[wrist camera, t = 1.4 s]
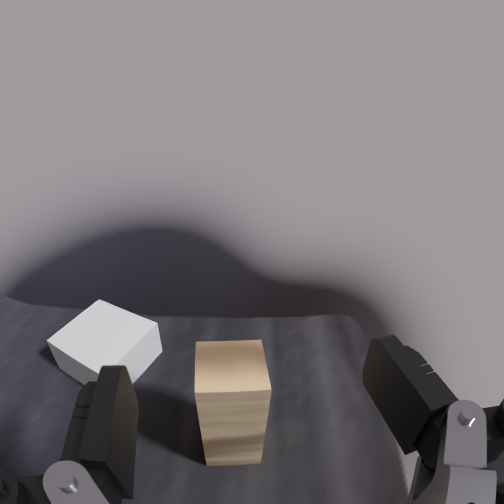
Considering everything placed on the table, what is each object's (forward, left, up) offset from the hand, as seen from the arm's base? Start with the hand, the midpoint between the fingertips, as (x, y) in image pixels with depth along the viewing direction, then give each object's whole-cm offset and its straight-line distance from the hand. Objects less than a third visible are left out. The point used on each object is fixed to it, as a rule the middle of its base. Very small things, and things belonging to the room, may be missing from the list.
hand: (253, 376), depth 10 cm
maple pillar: (-4, +8, -21) cm, 23 cm away
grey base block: (-23, +11, -21) cm, 33 cm away
